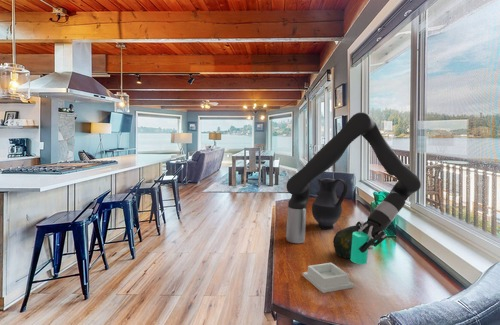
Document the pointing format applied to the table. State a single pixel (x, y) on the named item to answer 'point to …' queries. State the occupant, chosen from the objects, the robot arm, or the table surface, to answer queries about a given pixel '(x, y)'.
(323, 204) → the pitcher
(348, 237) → the squash
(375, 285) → the table surface
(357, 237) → the candle
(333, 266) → the candle stand
